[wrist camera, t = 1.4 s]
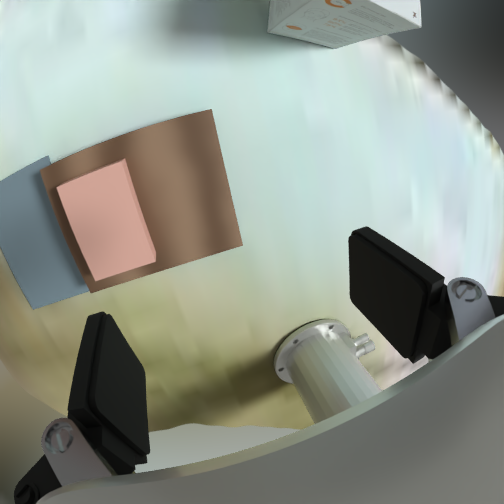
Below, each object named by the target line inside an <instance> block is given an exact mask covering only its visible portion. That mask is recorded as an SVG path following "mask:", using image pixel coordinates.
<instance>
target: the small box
mask: <svg viewBox="0 0 504 504" xmlns="http://www.w3.org/2000/svg"><path fill="white" fill-rule="evenodd" d="M420 27H421V8H420V0H270V8H269V18H268V28H267V32H268V33H272V34H277V35H282V36H287V37H291V38H296V39H300V40H304V41H308V42H312V43H316V44H320V45H324V46H327V47H331V48H334V49H337V48H340V47H343V46H346V45H349V44H353V43H356V42H359V41H363V40H367V39H370V38H374V37H378V36H382V35H387V34H391V33H395V32H400V31H405V30H410V29H415V28H420Z"/></svg>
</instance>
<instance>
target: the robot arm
mask: <svg viewBox="0 0 504 504" xmlns="http://www.w3.org/2000/svg"><path fill="white" fill-rule="evenodd" d="M348 242H349V275H350V299H351V301H352V303H353V304H354V305H355V306H356V307H357V308H358V309H359V310H360V311H361V313H362V314H363V315H364V316H365V317H366V318H367V319H368V320H369V321H370V322H371V323H372V324H373V325H374V326H375V327H376V328H377V330H378V331H379V332H380V333H381V334H382V335H383V336H384V337H385V338H386V339H387V340H388V341H389V342H390V344H391V345H392V346H393V347H394V348H395V349H396V350H397V351H398V352H399V353H400V355H401V356H402V357H404V358H408V359H409V360H410V361H411V362H412V363H413V364H414V363H415V362H417V361H418V360H420V359H421V358H423V357H424V356H425V355H426V356H427V358H428V359H429V363H427V364H426V365H424V366H423V367H421V368H420V369H418V370H417V371H415V372H413V373H412V374H410V375H409V376H407V377H405V378H404V379H402V380H400V381H399V382H397V383H395V384H394V385H392V386H390V387H389V388H387V389H385V390H383V391H382V389H381V388H380V387H379V385H378V384H377V383H376V382H375V380H374V379H373V378H372V376H371V375H370V374H369V373H368V371H367V370H366V369H365V367H364V366H363V365H362V363H361V362H360V361H359V357H360V356H362V355H365V354H367V353H369V352H371V351H373V350H375V345H374V342H373V341H372V340H369V336H368V335H367V333H364V334H362V335H360V336H358V337H357V338H355V339H353V338H351V335H350V332H349V330H348V329H347V327H346V326H345V325H344V324H343V323H341V322H339V321H337V320H332V319H325V320H319V321H314V322H312V323H309V324H307V325H305V326H303V327H301V328H299V329H298V330H296V331H295V332H293V333H292V334H291V335H290V336H289V337H288V338H286V339H285V341H284V342H283V343H282V344H281V345H280V347H279V349H278V350H277V352H276V355H275V357H274V369H275V371H276V373H277V375H278V376H279V378H280V379H282V380H283V381H285V382H288V383H293V384H294V385H295V387H296V389H297V391H298V393H299V395H300V397H301V399H302V400H303V402H304V404H305V406H306V408H307V410H308V412H309V414H310V416H311V417H312V419H313V421H314V423H315V424H314V425H312V426H309V427H307V428H305V429H302V430H300V431H297V432H295V433H292V434H289V435H287V436H284V437H281V438H279V439H276V440H273V441H270V442H267V443H265V444H261V445H258V446H255V447H252V448H249V449H246V450H242V451H239V452H236V453H232V454H229V455H225V456H222V457H217V458H213V459H210V460H205V461H201V462H197V463H192V464H187V465H182V466H177V467H172V468H166V469H161V470H155V471H149V472H142V473H135V472H134V470H135V465H137V464H144V463H147V456H146V455H147V454H149V453H150V444H149V434H148V419H147V403H146V377H145V371H144V368H143V366H142V364H141V363H140V361H139V360H138V358H137V357H136V355H135V354H134V352H133V351H132V349H131V347H130V346H129V344H128V343H127V341H126V339H125V338H124V336H123V334H122V333H121V331H120V329H119V328H118V326H117V324H116V323H115V321H114V319H113V317H112V316H111V315H110V314H107V315H106V313H105V312H99V313H96V314H93V315H90V316H88V318H87V321H86V325H85V329H84V333H83V336H82V340H81V344H80V349H79V353H78V357H77V362H76V366H75V371H74V376H73V381H72V386H71V392H70V397H69V403H68V418H59V419H55V420H54V421H52V422H51V423H50V424H49V425H48V426H47V427H46V429H45V430H44V432H43V435H42V440H41V442H42V444H41V445H42V448H43V451H44V453H45V454H44V455H43V457H42V458H41V459H40V460H39V461H38V462H37V463H36V464H35V465H34V466H33V467H32V468H31V469H30V470H29V472H28V473H27V474H26V475H25V476H24V477H23V478H22V479H21V480H20V481H19V482H18V484H17V486H16V488H15V491H14V500H15V504H504V297H500V296H488V295H487V293H486V291H485V289H484V288H483V286H482V285H481V284H480V283H479V282H477V281H475V280H473V279H470V278H465V277H459V278H455V279H453V280H451V281H450V282H449V283H448V285H447V286H446V285H445V284H444V278H445V277H443V276H442V275H441V274H439V273H438V272H436V271H435V270H433V269H432V268H431V267H429V266H428V265H426V264H425V263H423V262H422V261H420V260H419V259H417V258H416V257H414V256H413V255H411V254H410V253H408V252H407V251H405V250H404V249H402V248H401V247H399V246H398V245H396V244H395V243H393V242H391V241H390V240H388V239H387V238H385V237H384V236H382V235H380V234H379V233H377V232H376V231H374V230H372V229H371V228H369V227H363V228H360V229H357V230H354V231H353V232H352V234H351V236H350V237H349V240H348Z"/></svg>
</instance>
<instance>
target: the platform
mask: <svg viewBox="0 0 504 504" xmlns="http://www.w3.org/2000/svg"><path fill="white" fill-rule="evenodd" d="M122 159H125V160H126V163H127V167H128V170H129V174H130V177H131V180H132V183H133V187H134V190H135V193H136V196H137V199H138V202H139V205H140V208H141V211H142V214H143V217H144V220H145V223H146V226H147V229H148V231H149V234H150V237H151V240H152V242H153V245H154V248H155V251H156V262H153V263H150V264H147V265H144V266H141V267H138V268H135V269H131V270H128V271H125V272H122V273H119V274H116V275H113V276H110V277H107V278H104V279H101V280H98V281H95V279H94V277H93V275H92V273H91V271H90V269H89V267H88V265H87V262H86V260H85V258H84V256H83V254H82V251H81V249H80V247H79V245H78V242H77V240H76V237H75V235H74V233H73V230H72V228H71V225H70V223H69V220H68V218H67V215H66V213H65V210H64V207H63V204H62V202H61V199H60V196H59V193H58V190H57V187H58V186H59V185H61V184H62V183H64V182H66V181H68V180H71V179H73V178H75V177H78V176H80V175H83V174H85V173H88V172H90V171H93V170H95V169H98V168H100V167H103V166H105V165H108V164H111V163H113V162H116V161H119V160H122ZM40 173H41V176H42V179H43V182H44V185H45V188H46V191H47V194H48V197H49V200H50V202H51V205H52V208H53V211H54V213H55V216H56V218H57V221H58V223H59V226H60V228H61V231H62V233H63V236H64V238H65V240H66V243H67V245H68V247H69V249H70V252H71V254H72V256H73V258H74V260H75V262H76V265H77V267H78V269H79V271H80V273H81V275H82V277H83V279H84V281H85V283H86V285H87V287H88V289H89V291H90V293H93V292H96V291H99V290H103V289H106V288H109V287H112V286H115V285H118V284H121V283H124V282H128V281H131V280H134V279H137V278H140V277H143V276H146V275H150V274H153V273H156V272H159V271H162V270H165V269H169V268H172V267H175V266H178V265H181V264H185V263H188V262H191V261H194V260H197V259H201V258H204V257H207V256H210V255H213V254H217V253H220V252H223V251H226V250H230V249H233V248H236V247H239V246H243V244H242V239H241V235H240V231H239V227H238V222H237V218H236V214H235V209H234V205H233V201H232V196H231V192H230V188H229V183H228V179H227V175H226V170H225V166H224V162H223V157H222V153H221V149H220V144H219V140H218V135H217V131H216V126H215V122H214V118H213V113H212V109H210V110H205V111H201V112H197V113H193V114H189V115H185V116H182V117H178V118H174V119H171V120H167V121H164V122H161V123H157V124H154V125H151V126H148V127H144V128H141V129H138V130H135V131H132V132H129V133H126V134H124V135H121V136H118V137H115V138H113V139H110V140H107V141H105V142H102V143H99V144H97V145H94V146H92V147H89V148H87V149H84V150H82V151H80V152H77V153H75V154H73V155H70V156H68V157H66V158H64V159H62V160H59V161H57V162H55V163H53V164H51V165H49V166H47V167H45V168H43V169H41V170H40Z"/></svg>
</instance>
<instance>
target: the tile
mask: <svg viewBox="0 0 504 504" xmlns="http://www.w3.org/2000/svg"><path fill="white" fill-rule="evenodd" d="M57 190H58V193H59V196H60V199H61V202H62V204H63V207H64V210H65V213H66V215H67V218H68V220H69V223H70V225H71V228H72V230H73V233H74V235H75V237H76V240H77V242H78V245H79V247H80V249H81V251H82V254H83V256H84V258H85V260H86V262H87V265H88V267H89V269H90V271H91V273H92V275H93V277H94V279H95V281H98V280H101V279H104V278H107V277H110V276H113V275H116V274H119V273H122V272H125V271H128V270H131V269H135V268H138V267H141V266H144V265H147V264H150V263H153V262H156V251H155V248H154V245H153V242H152V240H151V237H150V234H149V231H148V229H147V226H146V223H145V220H144V217H143V214H142V211H141V208H140V205H139V202H138V199H137V196H136V193H135V190H134V187H133V183H132V180H131V177H130V174H129V170H128V167H127V163H126V160H125V159H122V160H119V161H116V162H113V163H111V164H108V165H105V166H103V167H100V168H98V169H95V170H93V171H90V172H88V173H85V174H83V175H80V176H78V177H75V178H73V179H71V180H68V181H66V182H64V183H62V184H61V185H59V186H58V187H57Z"/></svg>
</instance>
